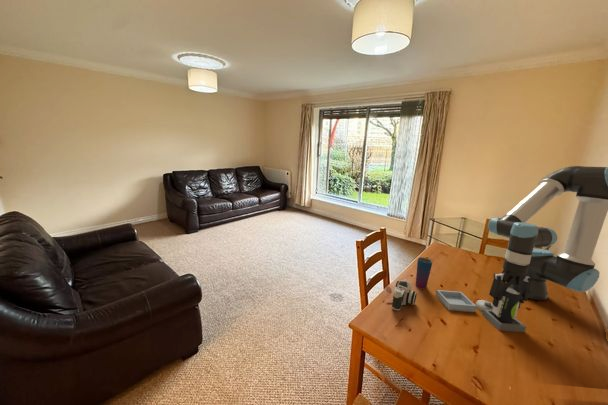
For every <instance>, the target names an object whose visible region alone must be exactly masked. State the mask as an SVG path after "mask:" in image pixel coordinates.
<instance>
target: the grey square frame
mask: <svg viewBox="0 0 608 405" xmlns="http://www.w3.org/2000/svg"><path fill="white" fill-rule="evenodd" d="M475 305H476V309H477V310H479V311H481V312H482V313H481V315H482V316H483V317H484V318H485V319H487V321H488V322H489V323H490V324H492V325H493V326H494V328H496V329H497V330H498V331H501V332H502V331H503V332H504V331H505V332H517V333H526V330H527V329H526V328H527V326H526V325H525V324H524V323H523V322H521V321H520V320H519V319H517V317H514V319H513V322H512V324H509V323H501V322H500V321H498V320H497V319H496V318H495V317H494V316H493V314H494V313H493V312H492V310H493V302H490V301H488V300H484V299H478V300H477V301H476V303H475Z"/></svg>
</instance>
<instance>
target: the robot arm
mask: <svg viewBox="0 0 608 405" xmlns="http://www.w3.org/2000/svg"><path fill="white" fill-rule="evenodd" d="M565 192H566V193H567V192H573V193H576V194H575V197H576V199H578V201H579V202H578V205H577V208H576V211H575V214H574V217H573V219H572V223H571V227H570V230H569V233H568V236H567V239H566V242H565V244H564V248H563V250H562V252H559V253H557V255H556V256H555V253H554V252H553V251H551V250H548V249H543V247H544V248H546V247H549V246H552V245H554V244H556V242H557V240H558V235H557V233H556V231H555V230H553V229H551V227H550V228H549V227H544V226H540V227H539V226H537V225H536V224H533V223H527V222H529V220H530V219H531V218H532V217H534V216H535V215H536V214H537V213H538V212H540V210H542V208H544V207H545V206H546V205H548V203H550V201H552V200H553V199H554V198H555V197H557V196H561V195H562V194H563V193H565ZM607 214H608V166H584V165H582V166H581V165H572V166H571V165H570V166H566V167H563V168H559V169H558V170H555V171H553V172H551V173H549V174H547V175H546V176H544V177H543V178H542V179H540V180H539V181H538V183H537V186H536V187H535V188H534V189H533V190H531V191H530V192H529V194H527V195H526V196H524V198H523V199H522V200H520V201H519V202H518V203H517V204H516V205H514V207H513V208H511V209H510V210H509V211H508V212H507V213H505V214H504V215H503V216H502V217H499V216H498V217H497V216H495V217H492V218H490V219H489V221H488V224H487V228H488V231H489V232H490V233H493V234H495V235H497V236H502V237H504V238H508V239H509V240H508V243H507V248H506V250H505V251H506V252H505V256H504V257H505V259H503V260H504V261H503V263H502V269H503V270H502V271H501V273H496V272H495V273H494V274H493V281H492V284H491V286H490V290H489V296H490V297H491V298H493V300H492V303H493V310H492V312H493V313H495V314H496V315H497V316H498V315H499V312H500V308H501V304H502V301H501V298H502V296H503V295H504V293H505V291H506V290H507V288H508V287H511V288H513V289H514V290H515V291H517V292H518V293H519V292H520V298H519V302H518V305H517V309H516V312H515V315H514V317H515V318H517V314H518V310H520V307H521V304H524V303H525V302H527V301H528V299H531V300H537V301H547V299H548V296H549V293H548V287H547V281H549V282H552V283H554V284H557V285H560V286H561V287H564V288H567V289H569V290H573V291H575V292H578V293H584V292H587V291H589V290H590V289H592V288H593V287H594V286H595V285H596V283H597V282H598V280H599V278H600V271H599V270H598V269H597V268H595V267H596V266H595V265H596V263H595V262H594V261H593V259H592V258H593V255H594V253H595V249H596V247H597V244H598V241H599V238H600V236H601V232H602V229H603V225H604V222H605V220H606V217H607ZM539 247H540V248H539Z"/></svg>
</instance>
